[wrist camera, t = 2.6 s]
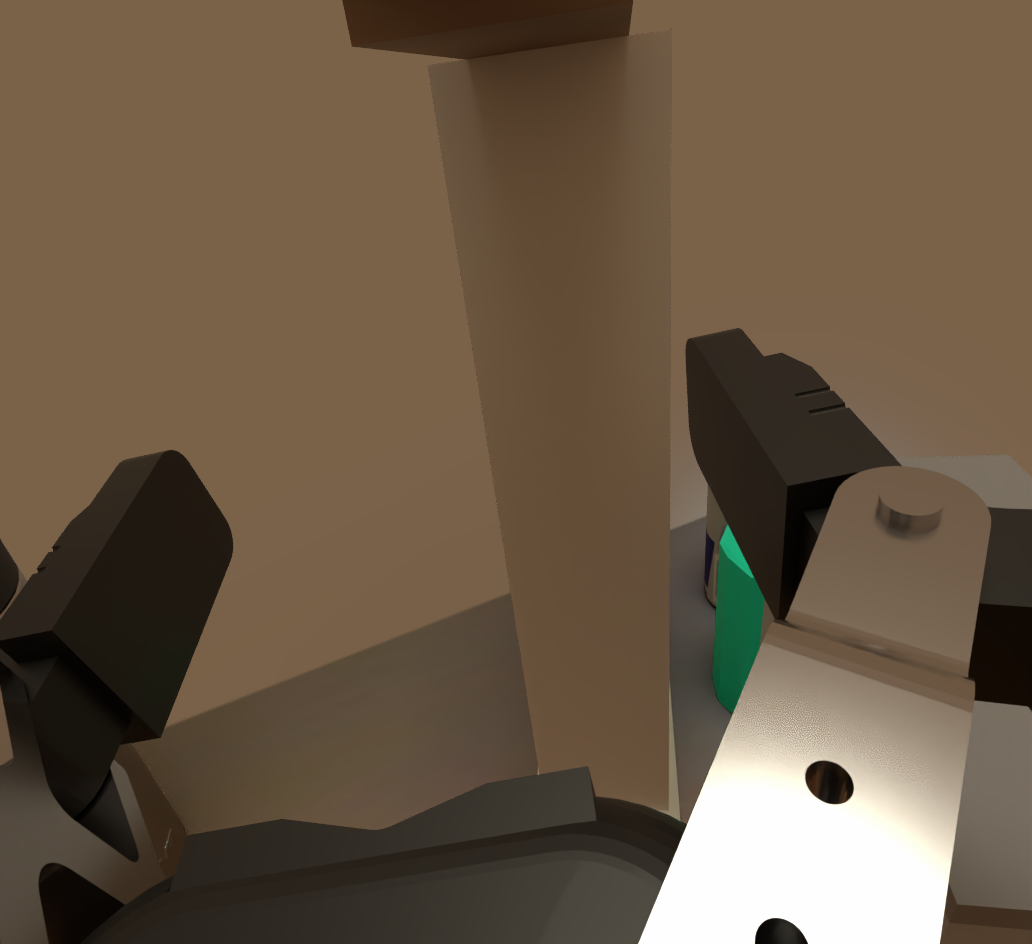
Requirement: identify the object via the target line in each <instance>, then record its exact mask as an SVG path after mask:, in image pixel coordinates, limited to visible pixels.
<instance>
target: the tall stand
mask: <svg viewBox="0 0 1032 944" xmlns="http://www.w3.org/2000/svg"><path fill="white" fill-rule="evenodd" d="M428 72H429V78H430V85H431V91H432V97H433V104H434V110H435V116H436V122H437V129H438V135H439V142H440V148H441V154H442V161H443V167H444V173H445V180H446V185H447V192H448V199H449V205H450V211H451V218H452V224H453V230H454V237H455V243H456V249H457V256H458V262H459V268H460V275H461V281H462V287H463V293H464V300H465V306H466V313H467V319H468V325H469V332H470V338H471V344H472V350H473V357H474V363H475V369H476V376H477V382H478V388H479V395H480V401H481V408H482V414H483V420H484V427H485V433H486V439H487V446H488V452H489V458H490V465H491V471H492V477H493V484H494V489H495V496H496V503H497V509H498V514H499V522H500V528H501V534H502V541H503V547H504V553H505V559H506V566H507V572H508V578H509V584H510V591H511V597H512V604H513V610H514V616H515V623H516V629H517V635H518V642H519V648H520V654H521V661H522V667H523V673H524V680H525V686H526V692H527V699H528V705H529V711H530V718H531V724H532V730H533V737H534V743H535V749H536V756H537V762H538V773H537V775H539V774H545V773H550V772H556V771H562V770H568V769H573V768H579V767H585V766H588V768H589V772H590V775H591V779H592V783H593V787H594V790H595V794H596V796H597V797H606V798H615V799H621V800H625V801H629V802H633V803H637V804H641V805H644V806H647V807H650V808H652V809H655V810H657V811H660V812H663V813H665V814H668V815H670V816H672V817H674V818H676V819H677V820H679V821H680V810H679V797H678V784H677V770H676V757H675V744H674V731H673V718H672V705H671V692H670V679H669V641H670V383H671V379H670V378H671V373H670V372H671V369H670V368H671V362H670V361H671V129H672V127H671V126H672V122H671V121H672V119H671V118H672V117H671V116H672V109H671V108H672V29H670V30H662V31H656V32H649V33H642V34H636V35H629V36H622V37H615V38H608V39H601V40H595V41H588V42H581V43H574V44H567V45H561V46H554V47H547V48H540V49H533V50H527V51H520V52H513V53H506V54H500V55H493V56H486V57H479V58H472V59H465V60H459V61H452V62H445V63H438V64H432V65H428Z"/></svg>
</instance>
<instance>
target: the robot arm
mask: <svg viewBox="0 0 1032 944" xmlns="http://www.w3.org/2000/svg"><path fill="white" fill-rule="evenodd" d="M686 373H687V374H686V375H687V394H688V415H689V430H690V437H691V442H692V447H693V451H694V454H695V457H696V460H697V463H698V464H699V467H700V469H701V471H702V473H703V475H704V477H705V479H706V481H707V483H708V485H709V487H710V489H711V491H712V493H713V495H714V497H715V499H716V501H717V503H718V505H719V507H720V510H721V512H722V514H723V516H724V518H725V520H726V522H727V524H728V526H729V528H730V530H731V532H732V534H733V536H734V538H735V540H736V542H737V544H738V546H739V548H740V550H741V552H742V554H743V556H744V558H745V560H746V562H747V564H748V566H749V568H750V570H751V572H752V574H753V576H754V578H755V580H756V582H757V584H758V586H759V588H760V590H761V593H762V595H763V597H764V599H765V601H766V603H767V605H768V607H769V609H770V611H771V613H772V615H773V617H774V619H775V620H774V621H773V622H772V624H771V625H770V627H769V629H768V631H767V633H766V635H765V637H764V639H763V642H762V644H761V647H760V649H759V651H758V654H757V656H756V659H755V661H754V664H753V666H752V668H751V671H750V673H749V676H748V678H747V681H746V683H745V686H744V688H743V690H742V693H741V695H740V698H739V700H738V703H737V705H736V707H735V710H734V712H733V715H732V717H731V720H730V722H729V725H728V727H727V729H726V732H725V734H724V737H723V739H722V742H721V744H720V746H719V749H718V751H717V754H716V756H715V759H714V761H713V764H712V766H711V768H710V771H709V773H708V776H707V778H706V781H705V783H704V785H703V788H702V790H701V793H700V795H699V798H698V800H697V803H696V805H695V807H694V810H693V812H692V815H691V817H690V820H689V822H688V824H685V823H683V822H681V821H679V820H677V819H676V818H674V817H672V816H670V815H668V814H665V813H663V812H660V811H657V810H655V809H652V808H650V807H647V806H644V805H641V804H637V803H633V802H629V801H625V800H621V799H615V798H606V797H597V796H596V794H595V790H594V787H593V783H592V779H591V775H590V772H589V768H588V766H585V767H579V768H573V769H568V770H562V771H556V772H550V773H545V774H539V775H533V776H527V777H522V778H516V779H510V780H504V781H498V782H493V783H487V784H484V785H482V786H480V787H478V788H475V789H473V790H471V791H469V792H466V793H464V794H462V795H460V796H457V797H455V798H453V799H451V800H449V801H446V802H444V803H442V804H440V805H437V806H435V807H433V808H431V809H429V810H426V811H424V812H422V813H420V814H417V815H415V816H413V817H411V818H408V819H406V820H404V821H402V822H400V823H397V824H395V825H393V826H390V827H388V828H385V829H380V830H366V829H358V828H350V827H342V826H334V825H326V824H318V823H310V822H301V821H293V820H285V819H280V820H274V821H268V822H262V823H257V824H251V825H245V826H239V827H234V828H228V829H222V830H216V831H211V832H205V833H199V834H193V835H188V836H186V834H185V830H184V826H183V824H182V823H181V821H180V819H179V818H178V816H177V814H176V813H175V811H174V810H173V808H172V807H171V805H170V803H169V802H168V800H167V799H166V797H165V795H164V794H163V792H162V791H161V789H160V787H159V786H158V784H157V783H156V781H155V779H154V778H153V776H152V774H151V772H150V771H149V769H148V768H147V766H146V765H145V763H144V762H143V760H142V758H141V757H140V755H139V754H138V752H137V751H136V749H135V748H134V746H133V744H132V743H134V742H140V741H145V740H150V739H156V738H161V735H162V733H163V730H164V728H165V725H166V722H167V720H168V717H169V715H170V712H171V710H172V707H173V705H174V702H175V700H176V697H177V695H178V692H179V690H180V687H181V684H182V682H183V679H184V677H185V674H186V672H187V669H188V667H189V664H190V662H191V659H192V657H193V654H194V652H195V649H196V647H197V644H198V642H199V639H200V636H201V634H202V631H203V629H204V626H205V624H206V621H207V619H208V616H209V614H210V611H211V609H212V606H213V603H214V601H215V598H216V596H217V593H218V591H219V588H220V586H221V583H222V581H223V578H224V576H225V573H226V571H227V568H228V566H229V563H230V561H231V557H232V553H233V539H232V534H231V530H230V527H229V524H228V522H227V520H226V519H225V517H224V516H223V514H222V513H221V511H220V509H219V508H218V506H217V505H216V503H215V502H214V500H213V499H212V497H211V496H210V494H209V492H208V491H207V489H206V488H205V486H204V485H203V483H202V482H201V480H200V479H199V477H198V475H197V474H196V472H195V471H194V469H193V468H192V466H191V465H190V463H189V462H188V461H187V459H186V458H185V457H184V456H183V455H182V454H181V453H179V452H177V451H174V450H168V451H163V452H158V453H154V454H149V455H145V456H140V457H135V458H131V459H126V460H124V461H122V462H120V463H119V465H118V466H117V467H116V469H115V470H114V471H113V473H112V474H111V476H110V477H109V478H108V480H107V481H106V483H105V484H104V485H103V487H102V488H101V490H100V491H99V493H98V494H97V495H96V497H95V498H94V500H93V501H92V502H91V504H90V505H89V506H88V507H87V508H86V509H85V510H83V511H82V512H81V513H80V514H79V515H78V516H77V517H76V518H74V519H73V520H72V521H71V522H70V523H69V525H68V526H67V527H66V529H65V530H64V532H63V533H62V534H61V536H60V537H59V539H58V540H57V541H56V543H55V544H54V546H53V547H52V548H53V552H49V553H48V554H47V555H46V557H45V558H44V559H43V561H42V562H41V564H40V565H39V566H38V568H37V570H38V573H36V574H33V575H32V576H31V577H30V579H29V580H28V582H27V580H26V579H25V577H24V576H23V574H22V572H21V571H20V569H19V568H18V567H17V565H16V563H15V562H14V560H13V559H12V557H11V556H10V554H9V552H8V551H7V549H6V548H5V546H4V545H3V543H2V541H1V539H0V944H940V937H941V930H942V923H943V916H944V909H945V902H946V895H947V888H948V881H949V874H950V868H951V861H952V854H953V847H954V840H955V833H956V826H957V819H958V812H959V805H960V798H961V791H962V784H963V777H964V770H965V763H966V756H967V750H968V743H969V736H970V729H971V722H972V715H973V707H974V701H983V702H992V703H1000V704H1009V705H1018V706H1027V707H1029V709H1030V710H1031V711H1032V509H1008V508H994V507H987V506H986V504H985V503H984V501H983V500H982V499H981V498H980V497H979V496H978V495H977V493H975V492H974V491H973V490H971V489H970V488H969V487H968V486H966V485H964V484H963V483H961V482H959V481H958V480H955V479H953V478H951V477H949V476H946V475H944V474H941V473H938V472H935V471H931V470H926V469H922V468H915V467H907V466H902V465H901V464H900V463H899V462H898V461H897V460H896V459H895V458H894V456H893V455H892V454H891V453H890V452H889V451H888V450H887V449H886V448H885V447H884V445H883V444H882V443H881V442H880V441H879V440H878V439H877V438H876V437H875V436H874V435H873V434H872V432H871V431H870V430H869V429H868V428H867V427H866V426H865V425H864V424H863V422H862V421H861V420H860V419H859V418H858V417H857V416H856V415H855V414H854V413H853V412H852V410H851V409H850V408H846V407H845V403H844V402H843V401H842V399H841V398H840V397H839V396H838V395H837V394H836V393H835V392H834V391H830V386H829V385H828V384H827V383H826V382H825V381H824V380H823V379H822V378H821V376H820V375H819V374H818V373H817V372H816V371H815V370H814V369H813V368H812V367H811V366H809V365H807V364H805V363H803V362H800V361H798V360H796V359H794V358H792V357H789V356H787V355H785V354H783V353H778V354H773V355H769V356H763V355H762V354H761V353H760V351H759V350H758V349H757V348H756V346H755V345H754V344H753V343H752V341H751V340H750V339H749V338H748V337H747V335H746V334H745V333H744V332H743V331H742V330H741V329H740V328H736V329H731V330H727V331H722V332H718V333H713V334H708V335H704V336H699V337H694V338H690V339H688V341H687V343H686Z"/></svg>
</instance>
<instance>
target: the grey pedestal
mask: <svg viewBox="0 0 1032 944" xmlns="http://www.w3.org/2000/svg"><path fill="white" fill-rule="evenodd" d="M895 459H896V460H897V461H898V462H899V463H900V464H901V465H902V466H907V467H915V468H922V469H926V470H931V471H935V472H938V473H941V474H944V475H946V476H949V477H951V478H953V479H955V480H958V481H959V482H961V483H963V484H964V485H966V486H968V487H969V488H970V489H971V490H973V491H974V492H975V493H977V495H978V496H979V497H980V498H981V499H982V500H983V501H984V503H985V504H986V506H987V507H994V508H1008V509H1032V478H1031V477H1030V476H1029V475H1028V474H1027V473H1026V472H1025V471H1024V470H1023V469H1022V468H1021V467H1020V466H1019V465H1018V464H1017V463H1016V462H1015V461H1014V460H1013V459H1012V458H1011V457H1010V456H1009V455H987V456H952V457H920V458H919V457H918V458H895ZM774 620H775V619H774V617H773V615H772V613H771V611H770V609H769V607H768V605H767V603H766V601H764V610H763V620H762V630H761V640H760V647H761V644H762V642H763V639H764V637H765V635H766V633H767V631H768V629H769V627H770V625H771V624H772V622H773V621H774ZM940 944H1032V711H1031V710H1030V709H1029V707H1027V706H1018V705H1009V704H1000V703H992V702H983V701H974V707H973V715H972V722H971V729H970V736H969V743H968V750H967V756H966V763H965V770H964V777H963V784H962V791H961V798H960V805H959V812H958V819H957V826H956V833H955V840H954V847H953V854H952V861H951V868H950V874H949V881H948V888H947V895H946V902H945V909H944V916H943V923H942V930H941V937H940Z"/></svg>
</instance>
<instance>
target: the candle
mask: <svg viewBox="0 0 1032 944" xmlns="http://www.w3.org/2000/svg"><path fill="white" fill-rule="evenodd" d="M764 601H765V599H764V597H763V595H762V593H761V590H760V588H759V586H758V584H757V582H756V580H755V578H754V576H753V574H752V572H751V570H750V568H749V566H748V564H747V562H746V560H745V558H744V556H743V554H742V552H741V550H740V548H739V546H738V544H737V542H736V540H735V538H734V536H733V534H732V532H731V530H730V528H729V526H728V525H727V527H726V529H725V532H724V534H723V536H722V539H721V541H720V546H719V565H718V584H717V603H716V621H715V640H714V659H713V678H712V680H713V683H714V687H715V690H716V694H717V697H718V701H719V702H720V703H721V704H722V705H723V706H724V707H725V708H726V709H728V710H729V711H730V712H731V713H732V714H733V712H734V710H735V707H736V705H737V703H738V700H739V698H740V695H741V693H742V690H743V688H744V686H745V683H746V681H747V678H748V676H749V673H750V671H751V668H752V666H753V664H754V661H755V659H756V656H757V654H758V651H759V649H760V640H761V630H762V620H763V610H764Z"/></svg>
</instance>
